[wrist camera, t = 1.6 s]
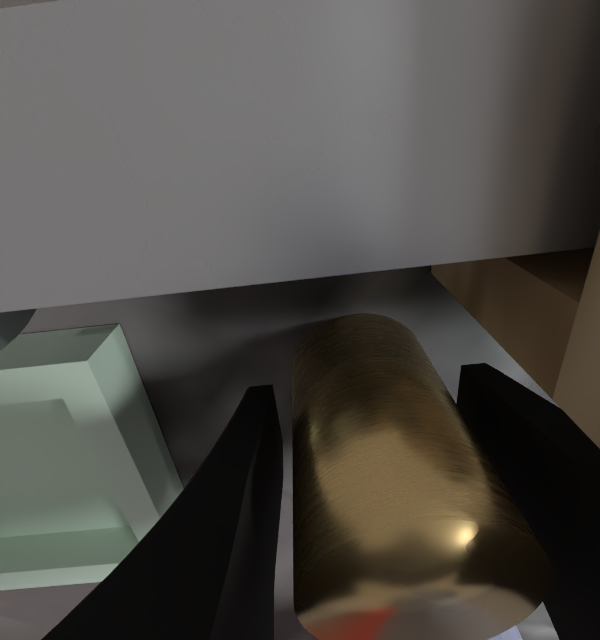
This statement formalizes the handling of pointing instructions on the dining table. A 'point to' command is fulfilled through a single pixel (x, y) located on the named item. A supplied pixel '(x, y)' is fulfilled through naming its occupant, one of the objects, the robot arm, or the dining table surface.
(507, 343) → the bearing block
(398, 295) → the dining table surface
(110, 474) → the pale green square tray
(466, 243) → the shaft
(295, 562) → the cylinder
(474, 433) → the robot arm
